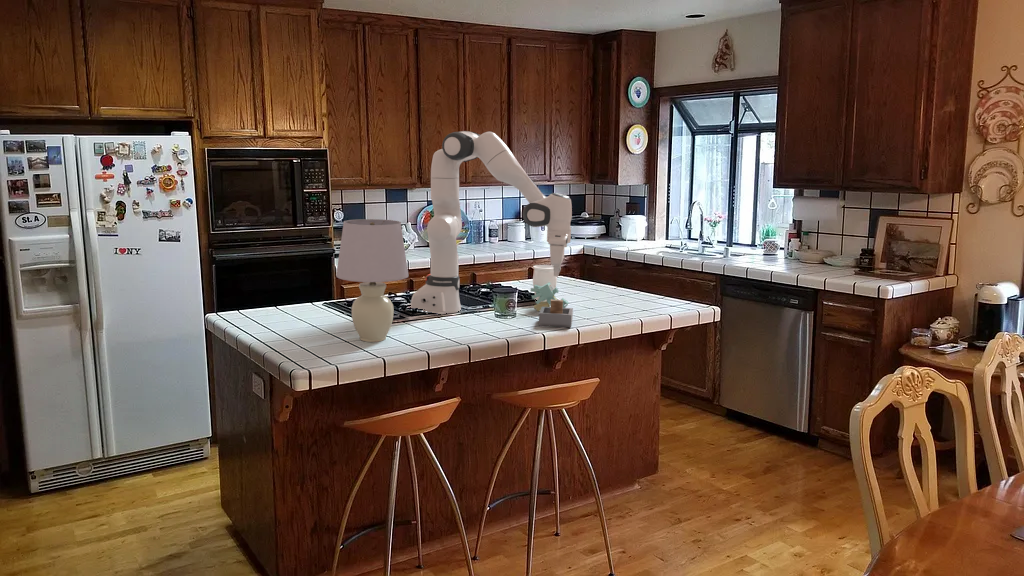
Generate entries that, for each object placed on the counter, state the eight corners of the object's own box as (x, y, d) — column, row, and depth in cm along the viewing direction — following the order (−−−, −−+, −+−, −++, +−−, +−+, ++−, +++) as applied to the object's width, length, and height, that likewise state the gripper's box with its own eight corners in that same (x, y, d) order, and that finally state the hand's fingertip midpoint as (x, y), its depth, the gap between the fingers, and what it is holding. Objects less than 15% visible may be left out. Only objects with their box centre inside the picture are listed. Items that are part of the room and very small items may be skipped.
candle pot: (538, 326, 292) (539, 313, 291) (541, 319, 303) (541, 306, 302) (570, 328, 290) (571, 314, 289) (572, 320, 302) (572, 308, 301)
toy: (571, 311, 315) (555, 279, 311) (541, 323, 318) (524, 292, 314) (571, 301, 324) (556, 270, 320) (542, 313, 328) (527, 283, 323)
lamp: (326, 335, 269) (324, 219, 262) (389, 327, 283) (388, 217, 275) (354, 351, 250) (353, 227, 243) (420, 342, 264) (421, 224, 256)
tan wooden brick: (549, 321, 296) (550, 300, 294) (550, 319, 298) (551, 299, 297) (561, 322, 295) (562, 301, 294) (562, 320, 297) (563, 300, 296)
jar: (533, 297, 345) (534, 263, 343) (556, 298, 344) (558, 265, 341) (530, 302, 335) (532, 267, 332) (554, 303, 334) (556, 268, 331)
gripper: (552, 233, 301) (550, 269, 304) (548, 240, 281) (546, 278, 284) (568, 234, 301) (567, 270, 303) (565, 241, 281) (563, 278, 283)
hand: (557, 274), depth 294 cm, fingers open, 8 cm apart
